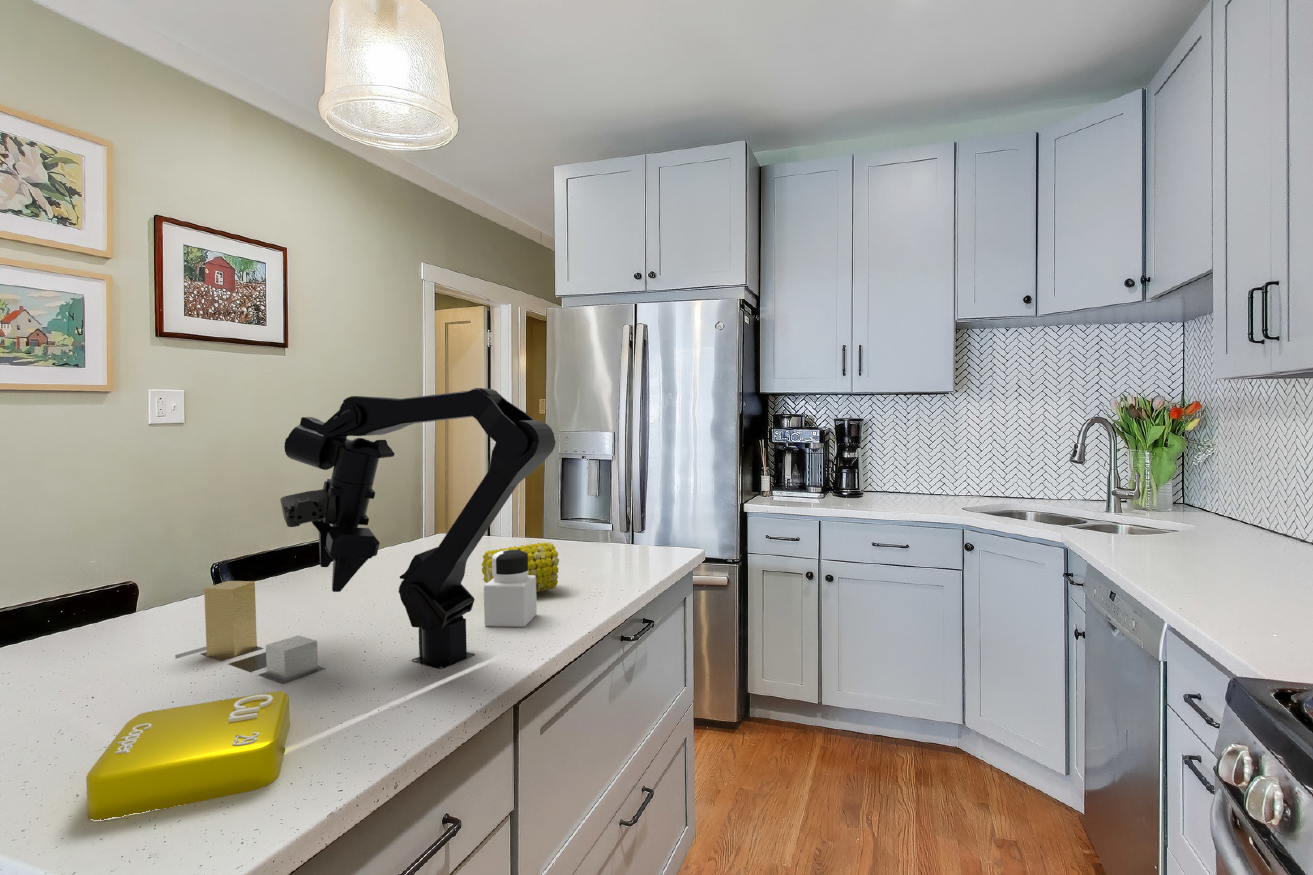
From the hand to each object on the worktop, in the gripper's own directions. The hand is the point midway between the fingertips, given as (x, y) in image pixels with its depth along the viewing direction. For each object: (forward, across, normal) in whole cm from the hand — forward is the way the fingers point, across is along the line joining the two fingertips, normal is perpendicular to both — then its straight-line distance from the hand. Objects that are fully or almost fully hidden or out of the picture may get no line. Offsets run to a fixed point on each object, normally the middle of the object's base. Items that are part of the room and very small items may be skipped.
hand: (329, 578), depth 99 cm
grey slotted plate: (+13, 0, -7) cm, 15 cm away
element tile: (+9, +29, -16) cm, 34 cm away
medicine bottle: (+6, +4, +30) cm, 30 cm away
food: (+7, -9, +38) cm, 40 cm away
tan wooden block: (+14, -6, -10) cm, 18 cm away
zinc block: (+10, +8, -4) cm, 14 cm away
